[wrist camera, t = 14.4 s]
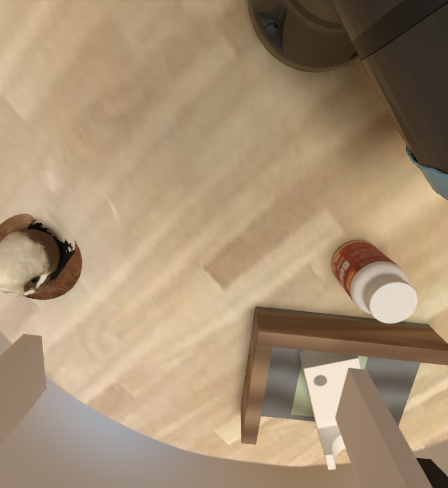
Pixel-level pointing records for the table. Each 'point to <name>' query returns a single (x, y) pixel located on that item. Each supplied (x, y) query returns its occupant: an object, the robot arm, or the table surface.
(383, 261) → the pill bottle
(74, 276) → the skull
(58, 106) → the table surface
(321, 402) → the bracket
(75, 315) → the table surface
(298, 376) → the tray
